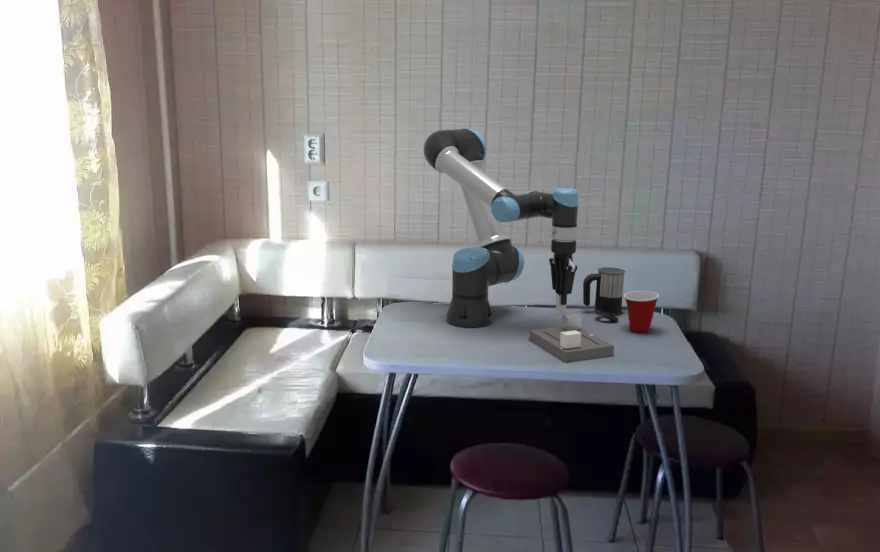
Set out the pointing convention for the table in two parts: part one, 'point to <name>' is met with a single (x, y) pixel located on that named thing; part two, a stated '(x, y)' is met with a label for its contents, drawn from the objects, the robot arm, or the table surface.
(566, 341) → the fader
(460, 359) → the table surface
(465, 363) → the table surface
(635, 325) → the plastic cup
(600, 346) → the slider panel
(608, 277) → the milk frother
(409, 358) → the table surface
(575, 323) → the fader
